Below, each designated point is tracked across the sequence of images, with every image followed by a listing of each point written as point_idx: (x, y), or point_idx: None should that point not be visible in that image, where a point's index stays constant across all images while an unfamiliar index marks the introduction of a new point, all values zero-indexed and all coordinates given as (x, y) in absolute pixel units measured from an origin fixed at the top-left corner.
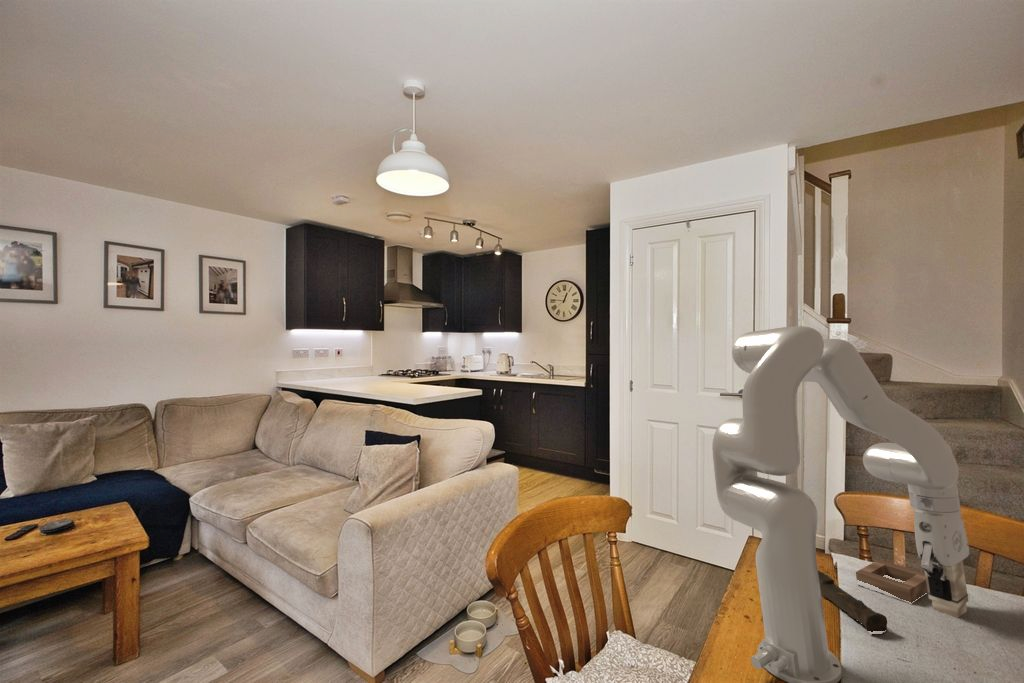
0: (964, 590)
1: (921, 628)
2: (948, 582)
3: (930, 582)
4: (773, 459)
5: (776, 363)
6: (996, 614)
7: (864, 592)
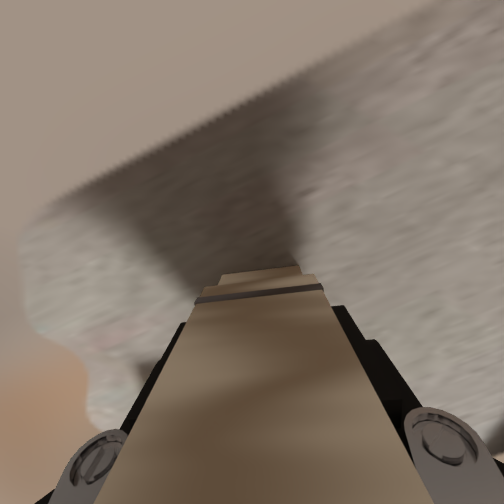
0: (218, 315)
1: (487, 285)
2: (392, 387)
3: None
4: None
5: None
6: (151, 215)
7: None
